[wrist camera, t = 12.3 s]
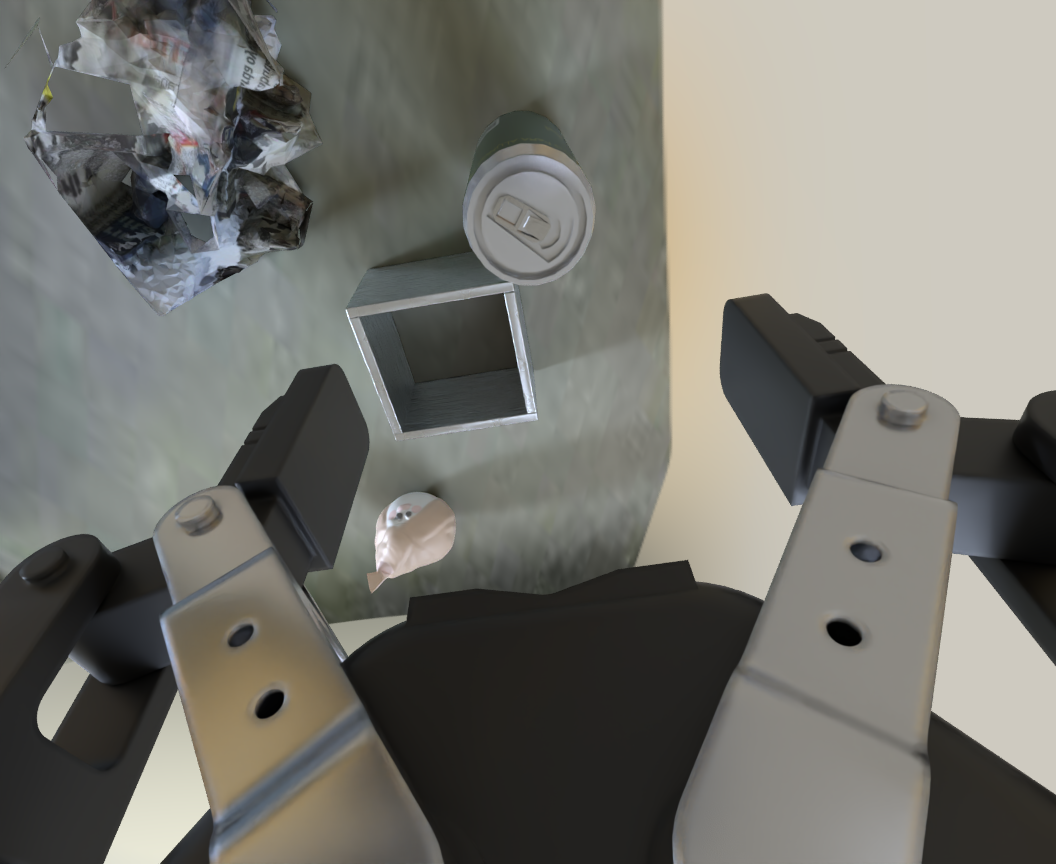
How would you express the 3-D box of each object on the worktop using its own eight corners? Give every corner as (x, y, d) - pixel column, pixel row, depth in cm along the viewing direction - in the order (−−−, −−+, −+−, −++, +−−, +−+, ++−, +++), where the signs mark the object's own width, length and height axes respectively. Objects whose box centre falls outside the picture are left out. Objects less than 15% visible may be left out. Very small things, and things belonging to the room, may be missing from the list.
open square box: (367, 269, 34) (344, 309, 29) (511, 244, 33) (512, 280, 28) (409, 391, 39) (396, 441, 34) (533, 371, 39) (538, 420, 34)
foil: (-51, 109, 25) (13, -59, 16) (156, 55, 31) (287, -87, 22) (137, 325, 31) (263, 295, 22) (279, 244, 38) (421, 194, 28)
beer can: (458, 184, 31) (438, 253, 21) (501, 87, 28) (500, 116, 19) (539, 229, 33) (554, 312, 23) (587, 142, 30) (626, 195, 20)
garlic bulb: (384, 472, 44) (363, 548, 37) (462, 482, 45) (455, 558, 38) (380, 528, 48) (361, 605, 41) (452, 536, 49) (445, 613, 42)
